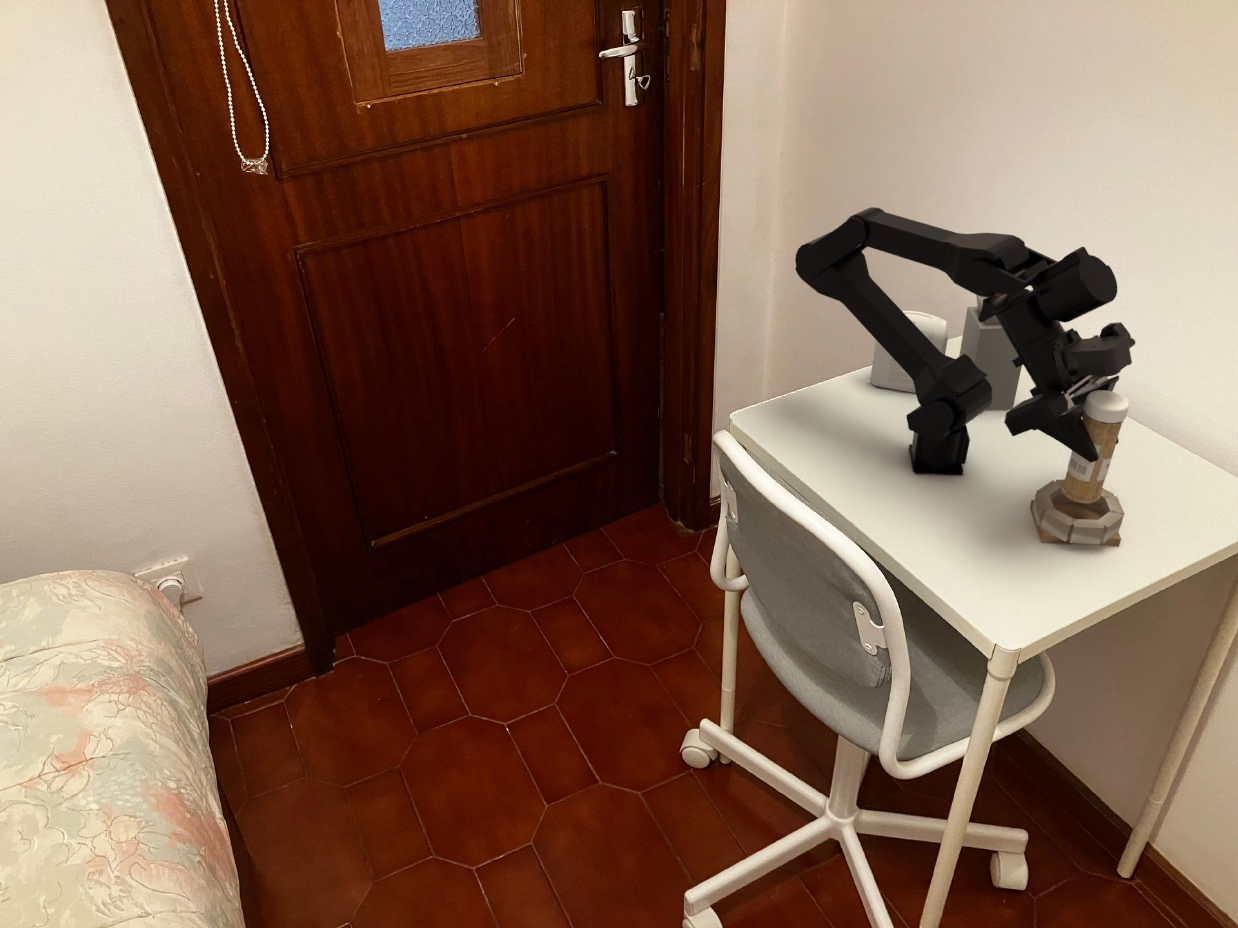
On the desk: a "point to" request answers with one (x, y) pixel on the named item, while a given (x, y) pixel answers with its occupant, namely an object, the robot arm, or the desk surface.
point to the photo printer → (889, 370)
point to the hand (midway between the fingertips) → (1104, 452)
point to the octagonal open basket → (1076, 518)
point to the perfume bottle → (991, 355)
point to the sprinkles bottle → (1096, 446)
